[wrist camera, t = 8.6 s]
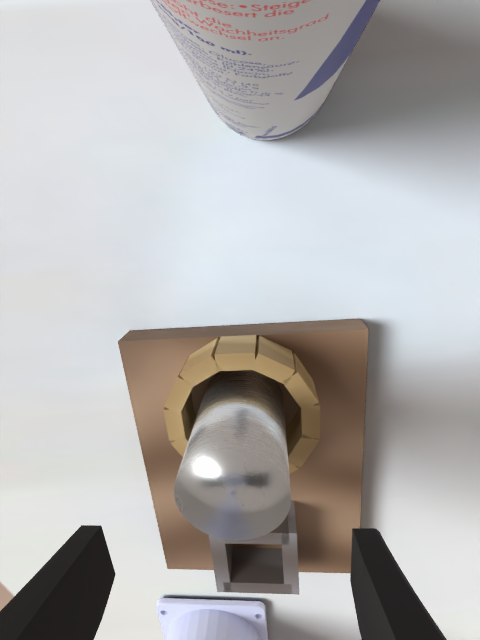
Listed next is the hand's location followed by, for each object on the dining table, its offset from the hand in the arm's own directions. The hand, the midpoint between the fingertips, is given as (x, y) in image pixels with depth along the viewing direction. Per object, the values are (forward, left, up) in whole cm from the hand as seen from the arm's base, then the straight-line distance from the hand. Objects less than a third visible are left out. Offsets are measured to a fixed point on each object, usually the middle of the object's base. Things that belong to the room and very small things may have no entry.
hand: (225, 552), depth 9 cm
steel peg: (0, 0, -8) cm, 8 cm away
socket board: (-4, 0, -9) cm, 10 cm away
